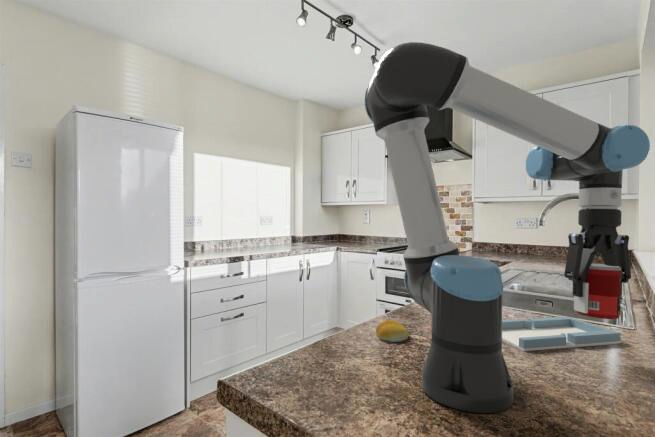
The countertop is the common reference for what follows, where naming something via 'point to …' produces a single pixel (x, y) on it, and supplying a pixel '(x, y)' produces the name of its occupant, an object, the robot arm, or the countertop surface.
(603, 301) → the canned food
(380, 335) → the bread roll
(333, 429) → the countertop surface
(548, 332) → the track
